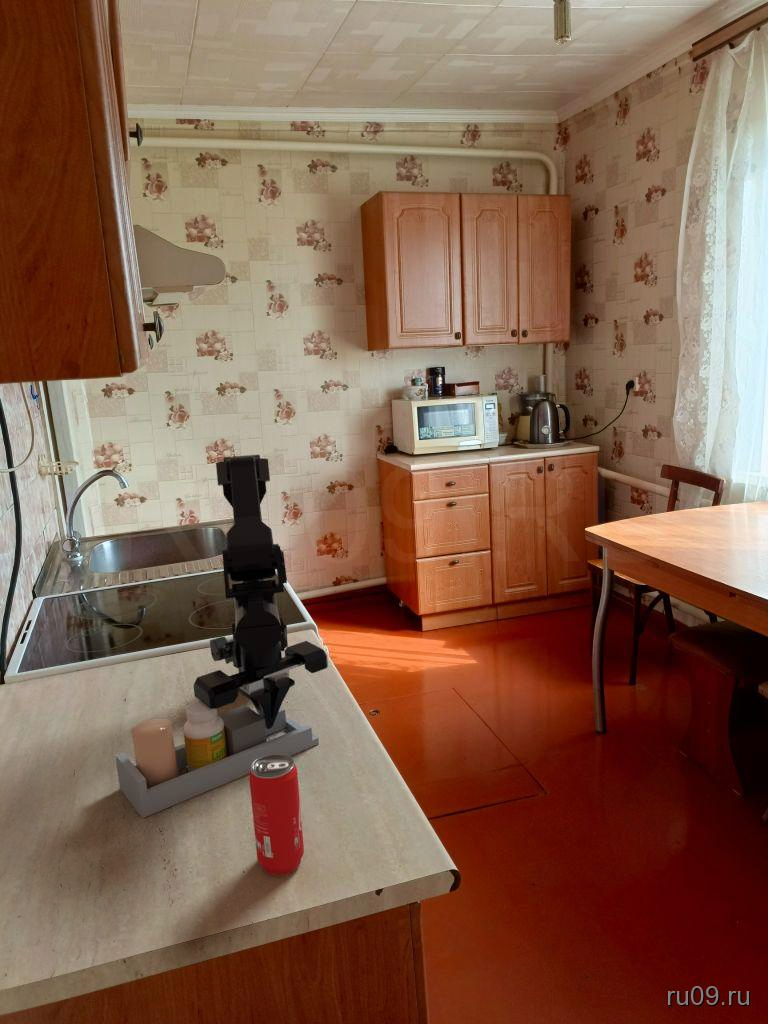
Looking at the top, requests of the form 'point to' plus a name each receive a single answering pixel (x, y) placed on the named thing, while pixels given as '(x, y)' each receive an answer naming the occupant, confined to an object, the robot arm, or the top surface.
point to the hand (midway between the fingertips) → (268, 727)
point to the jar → (155, 751)
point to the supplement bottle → (203, 736)
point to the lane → (208, 769)
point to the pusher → (243, 729)
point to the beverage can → (276, 813)
